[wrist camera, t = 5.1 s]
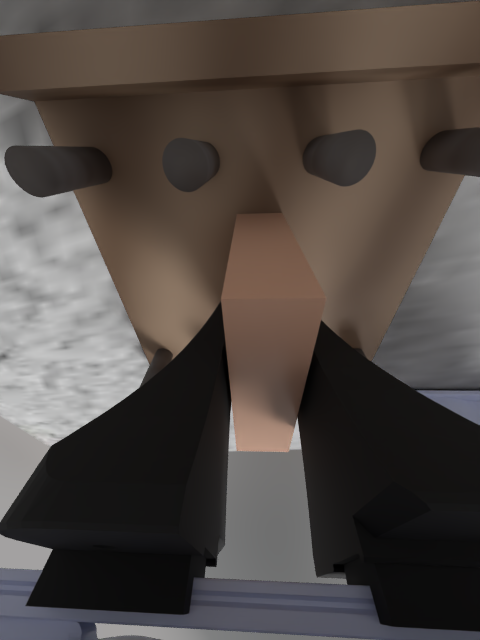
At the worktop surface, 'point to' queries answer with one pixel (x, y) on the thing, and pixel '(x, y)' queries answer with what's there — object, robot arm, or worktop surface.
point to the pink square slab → (268, 329)
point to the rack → (255, 151)
